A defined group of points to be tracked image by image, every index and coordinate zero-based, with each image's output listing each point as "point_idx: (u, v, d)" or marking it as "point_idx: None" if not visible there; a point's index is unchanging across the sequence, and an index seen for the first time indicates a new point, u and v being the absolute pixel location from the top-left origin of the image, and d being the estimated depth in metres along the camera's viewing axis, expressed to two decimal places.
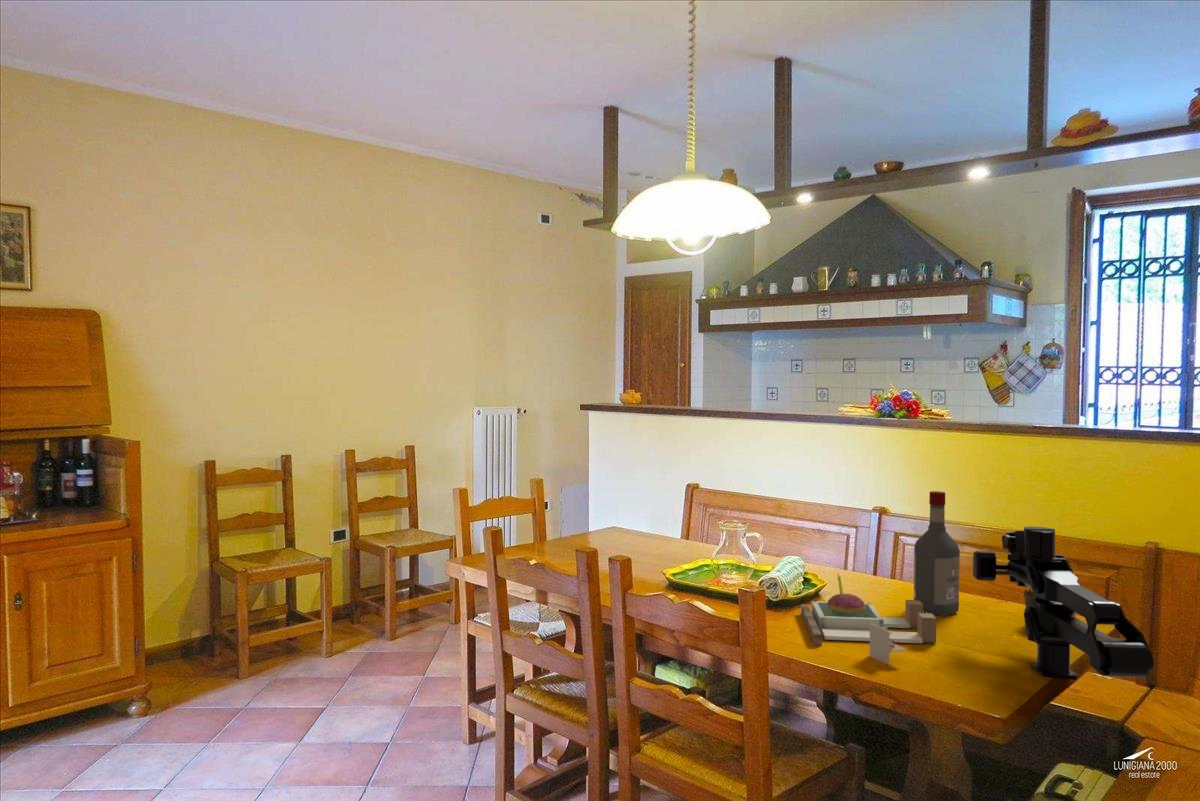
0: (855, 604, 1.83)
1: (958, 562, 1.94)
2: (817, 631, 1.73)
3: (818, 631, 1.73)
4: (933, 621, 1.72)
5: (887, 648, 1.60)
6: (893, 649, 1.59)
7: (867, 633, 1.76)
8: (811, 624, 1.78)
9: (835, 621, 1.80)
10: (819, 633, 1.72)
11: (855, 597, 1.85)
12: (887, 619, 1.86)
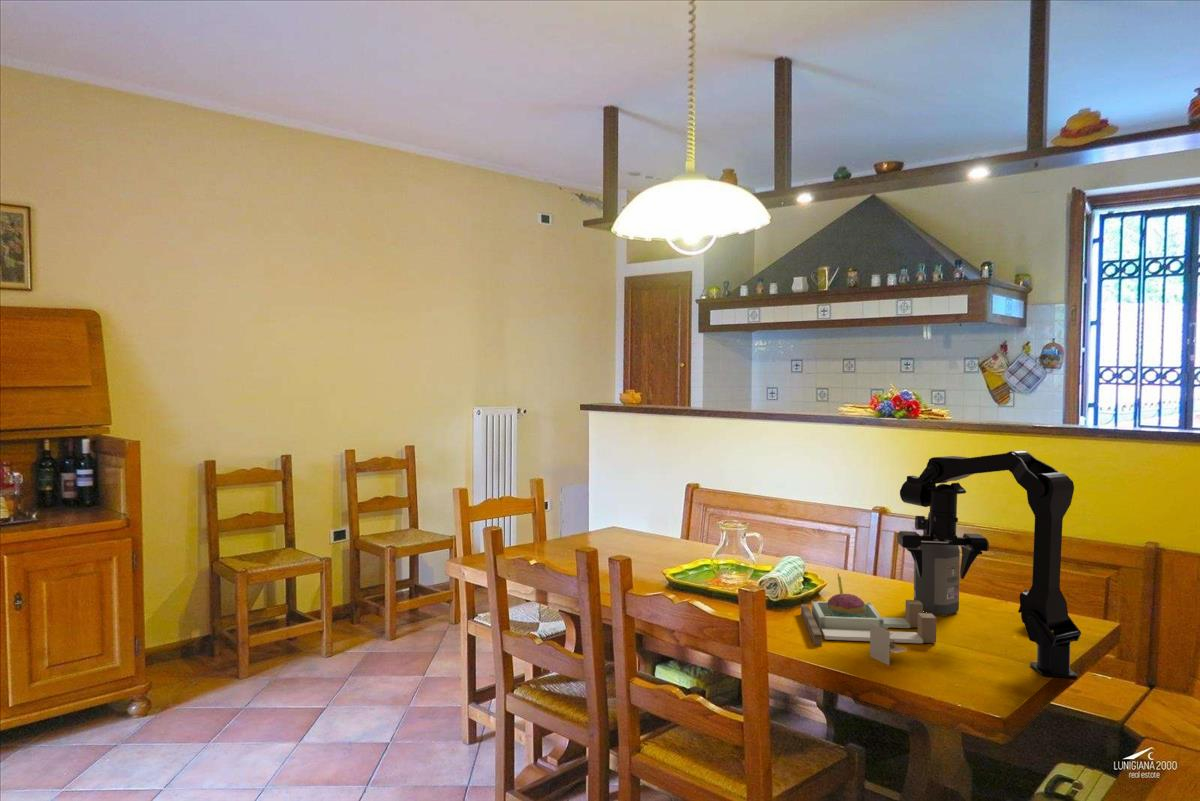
0: (855, 604, 1.83)
1: (958, 562, 1.94)
2: (817, 631, 1.73)
3: (818, 631, 1.73)
4: (933, 621, 1.72)
5: (887, 648, 1.60)
6: (893, 649, 1.59)
7: (867, 633, 1.76)
8: (811, 624, 1.78)
9: (835, 621, 1.80)
10: (819, 633, 1.72)
11: (855, 597, 1.85)
12: (887, 619, 1.86)
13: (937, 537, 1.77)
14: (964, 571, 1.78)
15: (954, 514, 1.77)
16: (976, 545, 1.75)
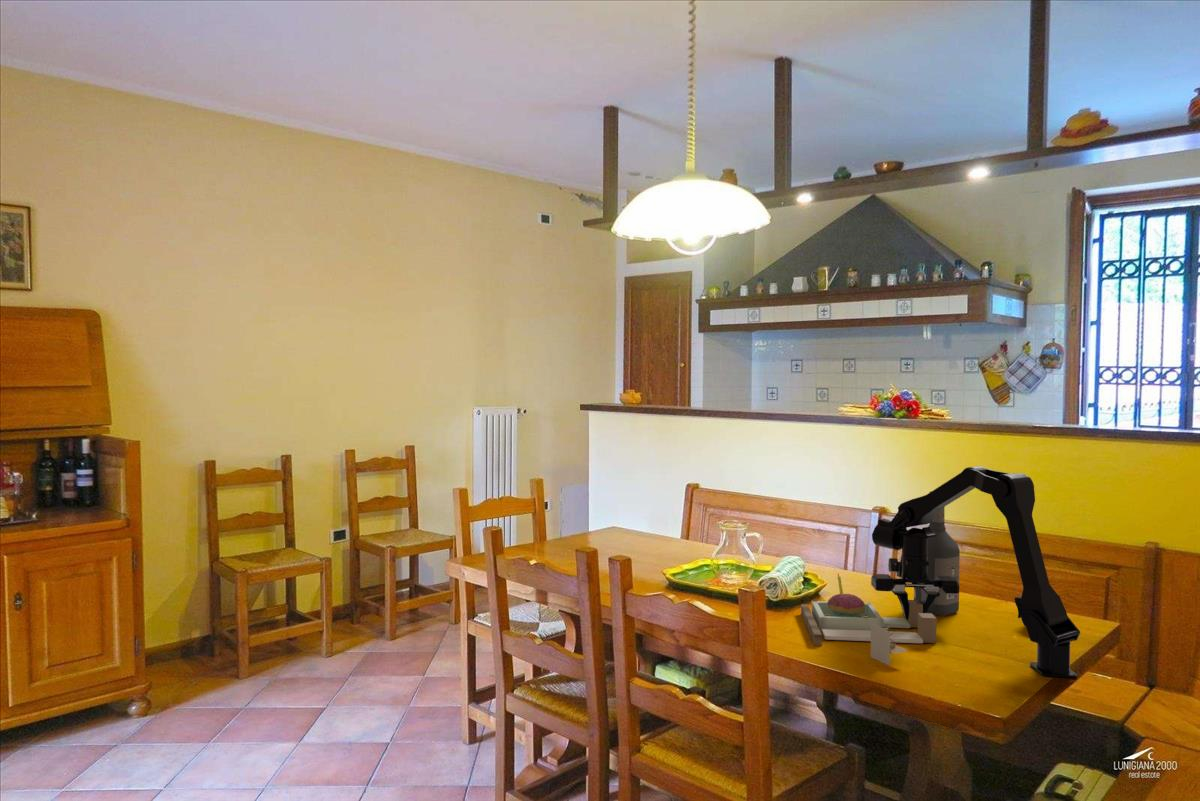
0: (855, 604, 1.83)
1: (958, 562, 1.94)
2: (817, 631, 1.73)
3: (818, 631, 1.73)
4: (933, 621, 1.72)
5: (887, 649, 1.59)
6: (893, 650, 1.59)
7: (867, 633, 1.76)
8: (811, 624, 1.78)
9: (835, 621, 1.80)
10: (819, 633, 1.72)
11: (855, 597, 1.85)
12: (887, 619, 1.86)
13: (909, 580, 1.81)
14: None
15: (925, 558, 1.81)
16: (947, 588, 1.80)
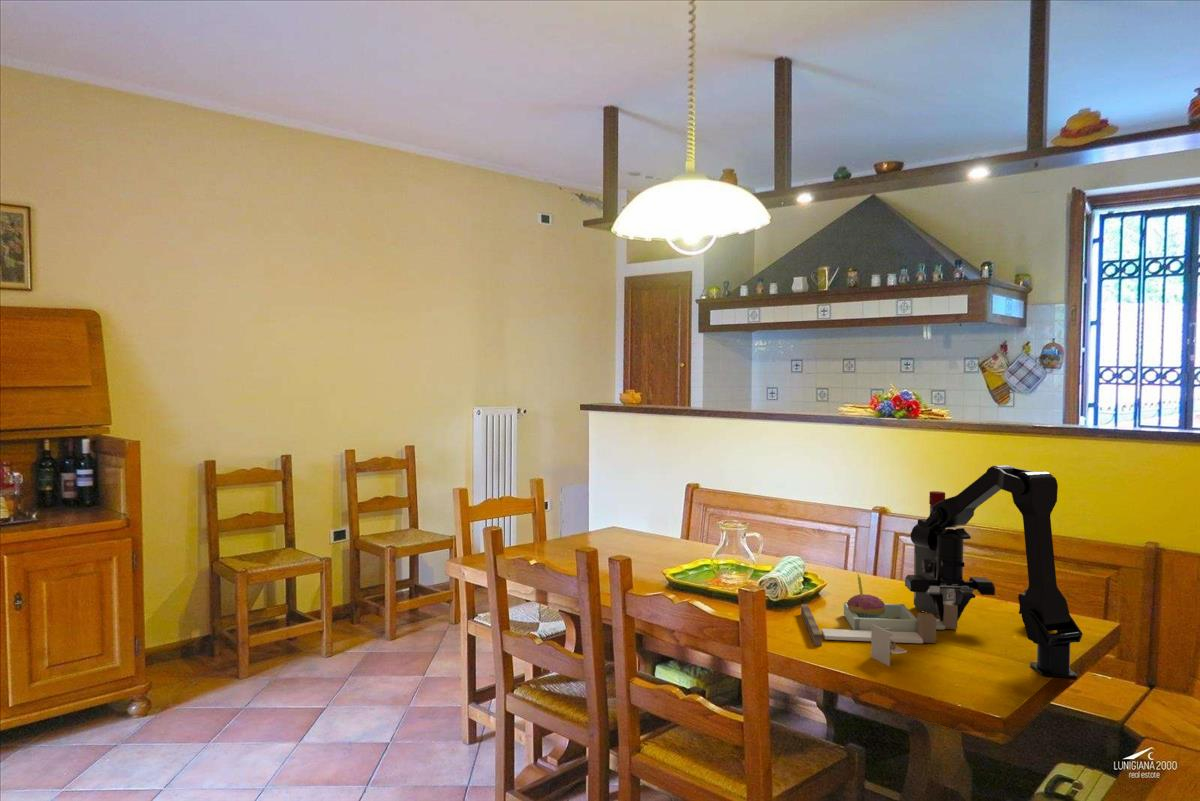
0: (875, 605, 1.82)
1: None
2: (817, 631, 1.73)
3: (818, 631, 1.73)
4: (933, 621, 1.72)
5: (888, 649, 1.59)
6: (894, 650, 1.59)
7: (867, 633, 1.76)
8: (811, 624, 1.78)
9: (870, 622, 1.79)
10: (819, 633, 1.72)
11: (875, 598, 1.84)
12: None
13: (944, 581, 1.80)
14: (958, 614, 1.82)
15: (961, 559, 1.80)
16: (983, 589, 1.79)
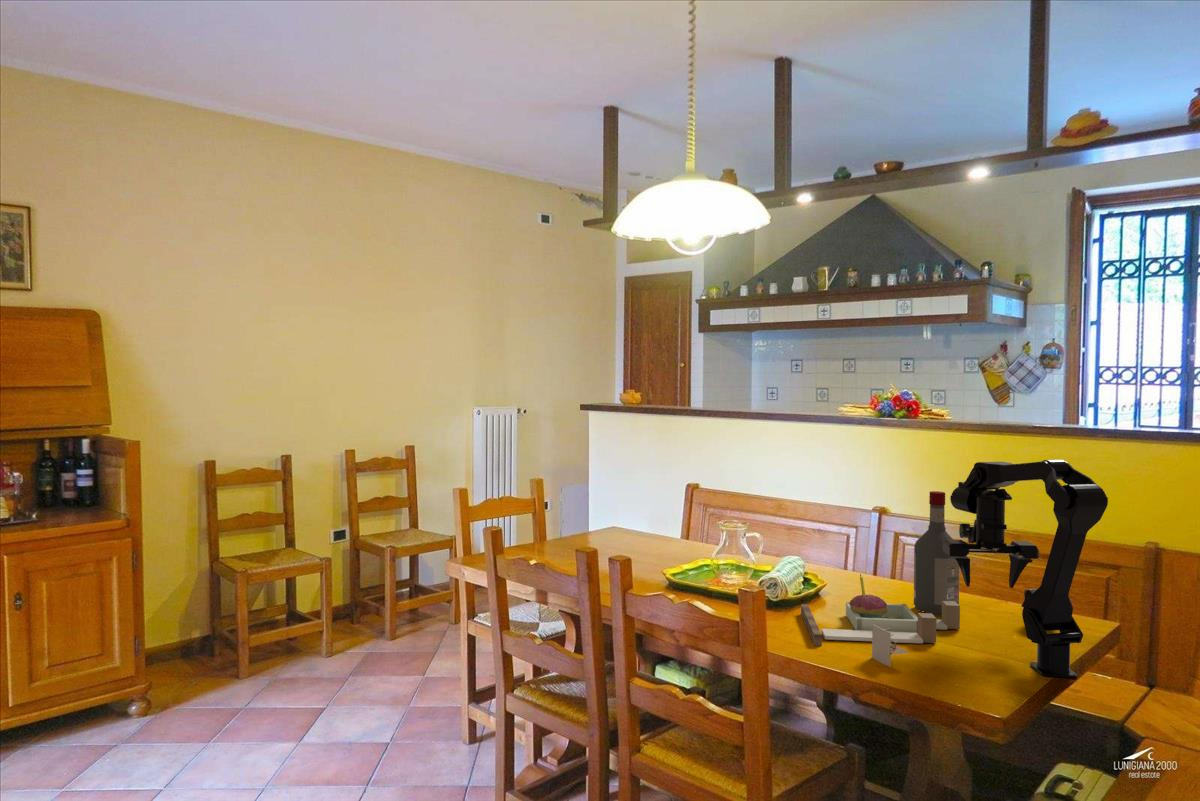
0: (877, 605, 1.82)
1: None
2: (817, 631, 1.73)
3: (818, 631, 1.73)
4: (933, 621, 1.72)
5: (888, 650, 1.59)
6: (894, 651, 1.58)
7: (867, 633, 1.76)
8: (811, 624, 1.78)
9: (872, 622, 1.79)
10: (819, 633, 1.72)
11: (877, 598, 1.84)
12: None
13: (985, 545, 1.71)
14: (1013, 580, 1.72)
15: (1002, 521, 1.71)
16: (1026, 553, 1.70)
